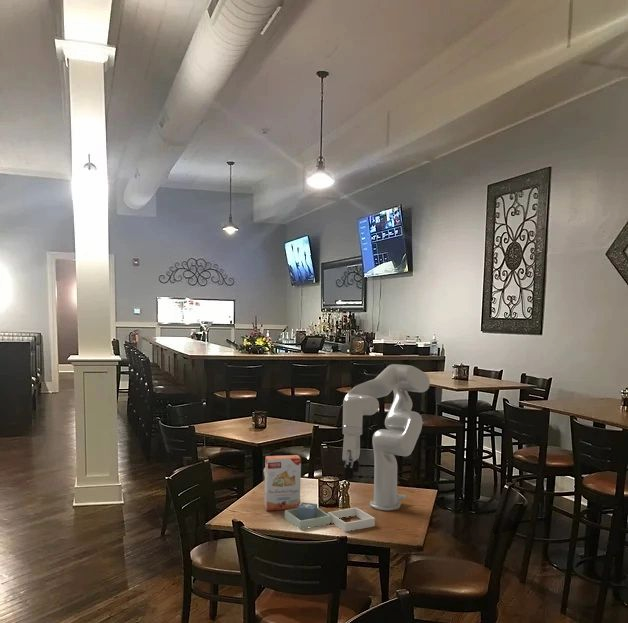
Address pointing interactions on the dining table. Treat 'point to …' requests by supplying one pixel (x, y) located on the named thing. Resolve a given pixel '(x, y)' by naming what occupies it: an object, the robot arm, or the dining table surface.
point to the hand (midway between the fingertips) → (351, 474)
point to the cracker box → (282, 482)
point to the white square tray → (364, 523)
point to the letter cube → (307, 511)
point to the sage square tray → (322, 519)
